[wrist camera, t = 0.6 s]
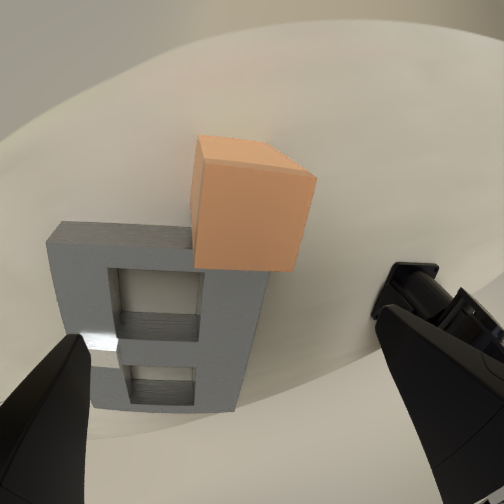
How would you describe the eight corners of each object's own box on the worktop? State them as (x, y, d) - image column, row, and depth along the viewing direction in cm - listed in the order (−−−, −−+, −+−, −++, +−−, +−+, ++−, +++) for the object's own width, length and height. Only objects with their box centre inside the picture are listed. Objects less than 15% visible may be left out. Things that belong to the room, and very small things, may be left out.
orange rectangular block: (265, 142, 18) (317, 178, 11) (254, 205, 20) (292, 271, 13) (198, 134, 17) (205, 164, 10) (190, 199, 19) (194, 268, 12)
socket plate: (262, 232, 21) (277, 260, 18) (229, 388, 29) (235, 418, 26) (61, 221, 17) (40, 248, 14) (97, 384, 26) (93, 414, 22)
